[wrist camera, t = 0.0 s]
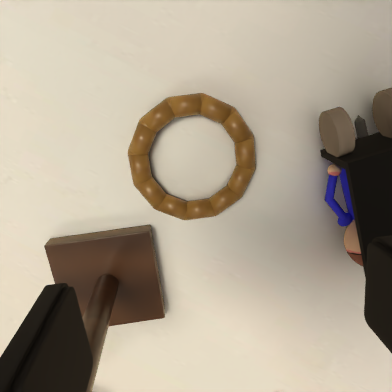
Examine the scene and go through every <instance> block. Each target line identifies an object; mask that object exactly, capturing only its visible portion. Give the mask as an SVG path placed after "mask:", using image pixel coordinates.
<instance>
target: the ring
mask: <svg viewBox="0 0 392 392" xmlns="http://www.w3.org/2000/svg"><path fill="white" fill-rule="evenodd" d="M198 114H200V115H202V116H204V117H207V118H209V119H211V120H214V121H216V122H218V123H221V124H222V126H223V127H224V128H225V130H226V131H227V133H228V134H229V135H230V137H231V138H232V140H233V141H234V142H235V154H236V167H235V169H234V171H233V173H232V175H231V178H230V180H229V182H228V184H227V186H225V187H224V188H223V189H221V190H220V191H218V192H217V193H216V194H214V195H213V196H212V197H210V198H209V199H202V200H195V201H184V200H181V199H179V198H176V197H173V196H171V195H168V194H166V193H165V192H164V191H163V189H162V188H161V187H160V186H159V185H158V183H157V182H156V181H155V180H154V179H153V177H152V175H151V169H150V163H149V157H148V153H149V150H150V148H151V145H152V143H153V140H154V138H155V135H156V132H158V131H159V130H160V129H161V128H163V127H164V126H165V125H166V124H168V123H169V122H170V121H172V120H173V119H174V118H175V117H183V116H190V115H198ZM128 157H129V162H130V168H131V173H132V179H133V183H134V186H135V187H136V188H137V189H138V190H139V192H140V193H141V194H142V195H143V196H144V197H145V199H146V200H147V201H148V202H149V203H150V204H151V206H152V207H153V208H154V209H156V210H158V211H161V212H163V213H166V214H169V215H171V216H174V217H177V218H180V219H182V220H191V219H198V218H205V217H212V216H216V215H218V214H219V213H221V212H222V211H224V210H225V209H226V208H228V207H229V206H231V205H232V204H233V203H235V202H236V201H237V200H239V199H240V198H241V197H242V196H243V194H244V192H245V190H246V188H247V185H248V183H249V181H250V179H251V177H252V175H253V173H254V171H255V168H256V164H255V149H254V136H253V134H252V132H251V131H250V129H249V128H248V126H247V125H246V123H245V122H244V121H243V119H242V118H241V116H240V115H239V113H238V112H237V110H236V109H235V108H234V107H233V106H231V105H228V104H226V103H224V102H222V101H219V100H217V99H215V98H213V97H211V96H208V95H206V94H204V93H198V94H190V95H182V96H174V97H168V98H166V99H165V100H163V101H162V102H161V103H160V104H158V105H157V106H156V107H155V108H153V109H152V110H151V111H149V112H148V113H147V114H146V115H144V116H143V117H142V118H141V119H140V120H139V122H138V125H137V128H136V130H135V133H134V136H133V139H132V141H131V144H130V147H129V149H128Z"/></svg>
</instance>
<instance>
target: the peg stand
mask: <svg viewBox="0 0 392 392" xmlns="http://www.w3.org/2000/svg"><path fill="white" fill-rule="evenodd" d="M45 250H46V254H47V257H48V260H49V264H50V267H51V271H52V274H53V278H54V281H55V284H60V283H67V285H68V286H69V287H74V289H75V292H76V296H77V299H78V303H79V307H80V311H81V314H82V318H83V322H84V325H85V329H86V333H87V337H88V340H89V344H90V348H91V352H92V356H93V368H92V372H91V376H90V379H89V383H88V387H87V390H86V392H92V388H93V384H94V380H95V377H96V373H97V369H98V365H99V361H100V357H101V353H102V349H103V345H104V341H105V337H106V333H107V330H108V326H113V325H120V324H127V323H133V322H140V321H147V320H153V319H160V318H164V317H165V306H164V300H163V295H162V289H161V283H160V277H159V272H158V266H157V260H156V255H155V249H154V243H153V237H152V232H151V226H150V225H145V226H138V227H130V228H123V229H116V230H109V231H102V232H95V233H88V234H81V235H73V236H66V237H59V238H52V239H50V240H49V241H48V242H47V243H46V245H45Z"/></svg>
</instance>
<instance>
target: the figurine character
mask: <svg viewBox="0 0 392 392" xmlns="http://www.w3.org/2000/svg"><path fill="white" fill-rule="evenodd" d="M372 112H373V118H374V122H375V124H376V127H377V129H378V130H379V132H378V133H375V134H372V135H368V132H367V127H366V123H365V120H364V119H363V118H361V117H360V116H359V115H358V117H357V119H356V121H355V126H356V130H357V135H358V139H355V133H354V128H353V125H352V122H351V119H350V117H349V115H348V114H347V112H346V111H345V110H344V109H343V108H341V107H337V108H334V109H331V110H327V111H324V112H322V113H321V114H320V117H319V130H320V135H321V139H322V142H323V145H324V147H325V149H322V150H320V151H321V156H322V157H323V158H325V159H327V160H329V161H330V162H332V163H334V164H332V165H330V166H329V167H328V173H329V178H328V183H327V189H326V195H325V201H326V202H327V203H328V205H329V206H330V207H331V208H332V210H333V211H334V212H335V214H336V215H337V216H338V217H339V218H338V224H339V225H340V226H348V225H349V226H348V227H347V229H346V231H345V235H344V245H345V249H346V251H347V253H348V255H349V256H350V257H351V258H352V259H353V260H354V261H355V262H356V263H358V264H360V265H361V266H363V267H364V272H365V277H366V262H367V246H368V244H369V243H372V240H373V239H374V238H376V237H383V236H390V235H392V88H389V89H386V90H382V91H379V92H377V93H376V95H375V96H374V99H373V104H372ZM338 175H339V176H340V180H341V184H342V189H343V193H344V197H345V201H346V205H347V209H348V213H345V212H344V211H343V209H342V208H341V207H340V206H339V204H338V203H337V202H336V201H335V199H334V193H335V187H336V182H337V176H338Z"/></svg>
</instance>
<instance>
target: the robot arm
mask: <svg viewBox="0 0 392 392" xmlns="http://www.w3.org/2000/svg"><path fill="white" fill-rule="evenodd" d="M364 316H365V320H366V322H367V324H368V326H369V327H370V328H371V329H372V330H373V332H374V333H375V334H376V335H377V336H378V338H379V339H380V340H381V341H382V342H383V343H384V345H385V346H386V347H387V348H388V349H389V351H390V352H391V353H392V235H390V236H383V237H376V238H374V239H373V240H372V243H369V244H368V246H367V262H366V285H365V307H364ZM92 368H93V356H92V352H91V348H90V344H89V340H88V337H87V333H86V329H85V325H84V322H83V318H82V314H81V311H80V307H79V303H78V299H77V296H76V292H75V289H74V287H69V286H68V285H67V283H60V284H53V285H47V286H45V287H44V289H43V291H42V292H41V294H40V295H39V297H38V299H37V300H36V302H35V303H34V305H33V307H32V308H31V310H30V311H29V313H28V315H27V316H26V318H25V319H24V321H23V322H22V324H21V326H20V327H19V329H18V330H17V332H16V334H15V335H14V337H13V338H12V340H11V341H10V343H9V345H8V346H7V348H6V349H5V351H4V353H3V354H2V356H1V357H0V392H86V390H87V387H88V383H89V379H90V376H91V372H92Z"/></svg>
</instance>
